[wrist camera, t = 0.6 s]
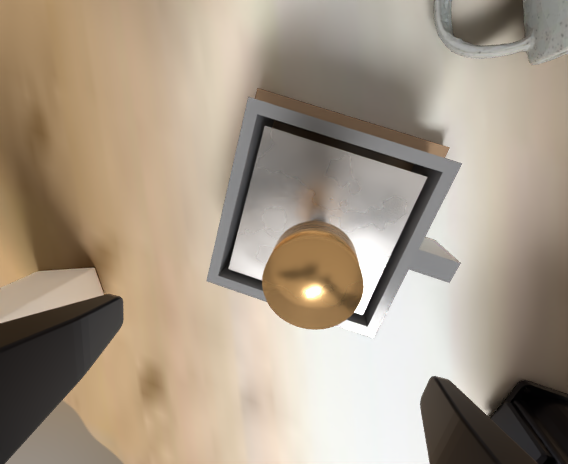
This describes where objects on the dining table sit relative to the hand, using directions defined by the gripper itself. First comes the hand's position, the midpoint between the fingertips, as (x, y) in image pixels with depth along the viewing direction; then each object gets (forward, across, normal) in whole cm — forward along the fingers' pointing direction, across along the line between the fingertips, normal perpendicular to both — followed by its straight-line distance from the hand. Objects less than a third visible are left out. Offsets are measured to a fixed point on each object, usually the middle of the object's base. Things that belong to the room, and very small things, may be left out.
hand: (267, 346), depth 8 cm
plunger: (+9, -1, -1) cm, 9 cm away
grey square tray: (+13, -1, -1) cm, 13 cm away
